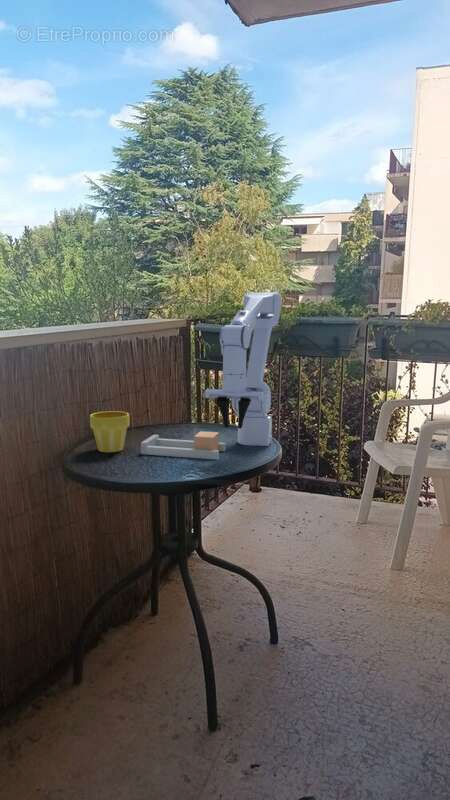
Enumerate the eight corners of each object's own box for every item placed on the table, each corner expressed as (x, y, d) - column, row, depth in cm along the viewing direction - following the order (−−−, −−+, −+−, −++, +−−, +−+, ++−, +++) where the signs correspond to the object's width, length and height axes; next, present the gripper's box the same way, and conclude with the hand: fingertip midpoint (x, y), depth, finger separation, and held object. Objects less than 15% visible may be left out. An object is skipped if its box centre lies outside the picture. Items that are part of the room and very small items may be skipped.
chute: (227, 451, 143) (227, 437, 143) (215, 466, 130) (215, 450, 129) (156, 446, 147) (156, 432, 147) (137, 460, 134) (137, 444, 133)
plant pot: (88, 446, 147) (87, 411, 145) (125, 443, 151) (125, 409, 149) (93, 456, 137) (92, 418, 136) (133, 452, 141) (132, 416, 139)
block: (218, 451, 140) (218, 432, 139) (213, 457, 134) (213, 437, 133) (200, 449, 141) (200, 431, 140) (194, 455, 135) (194, 436, 134)
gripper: (202, 374, 130) (201, 428, 132) (261, 376, 127) (259, 432, 129) (209, 371, 137) (208, 423, 139) (265, 373, 134) (263, 426, 136)
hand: (233, 427), depth 135 cm, fingers open, 3 cm apart
